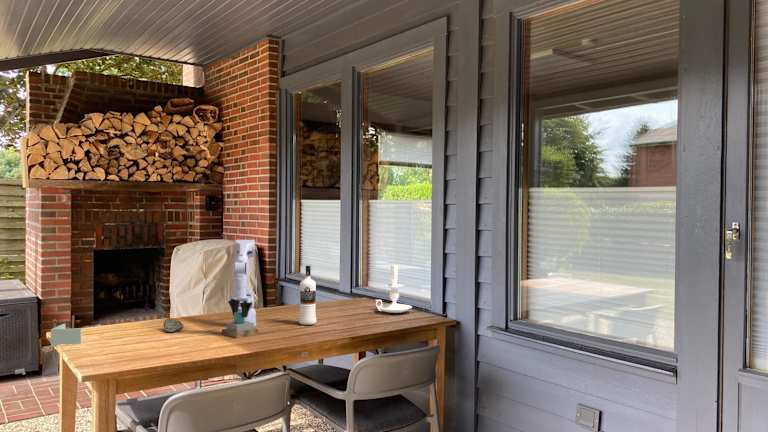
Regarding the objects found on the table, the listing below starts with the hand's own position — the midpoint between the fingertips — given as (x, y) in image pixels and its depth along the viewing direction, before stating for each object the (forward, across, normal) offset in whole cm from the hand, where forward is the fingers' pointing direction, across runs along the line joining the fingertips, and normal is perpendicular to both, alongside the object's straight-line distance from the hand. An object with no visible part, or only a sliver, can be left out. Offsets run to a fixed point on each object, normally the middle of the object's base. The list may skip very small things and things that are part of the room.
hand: (240, 316), depth 273 cm
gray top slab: (+6, 0, 0) cm, 6 cm away
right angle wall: (+9, -39, -60) cm, 72 cm away
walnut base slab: (+9, 0, 0) cm, 9 cm away
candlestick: (+9, +16, +93) cm, 95 cm away
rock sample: (+9, -26, -22) cm, 35 cm away
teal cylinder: (+3, 0, 0) cm, 3 cm away
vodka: (+9, +4, +39) cm, 40 cm away
